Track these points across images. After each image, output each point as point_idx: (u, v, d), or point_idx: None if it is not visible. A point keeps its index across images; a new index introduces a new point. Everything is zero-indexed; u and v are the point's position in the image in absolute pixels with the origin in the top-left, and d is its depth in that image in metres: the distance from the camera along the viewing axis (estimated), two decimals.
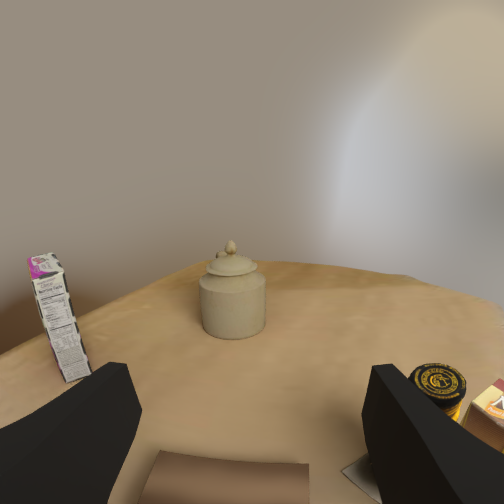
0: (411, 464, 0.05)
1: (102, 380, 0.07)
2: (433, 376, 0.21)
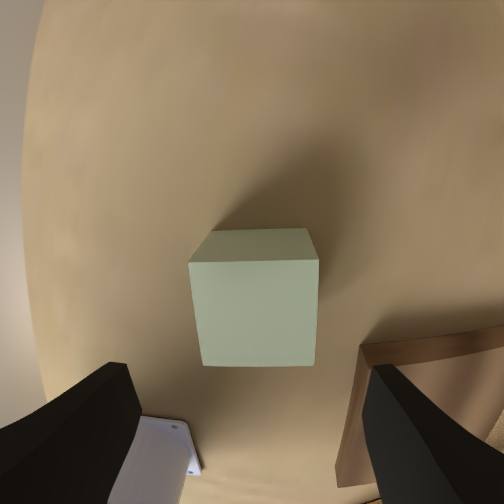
0: (411, 464, 0.05)
1: (102, 380, 0.07)
2: None
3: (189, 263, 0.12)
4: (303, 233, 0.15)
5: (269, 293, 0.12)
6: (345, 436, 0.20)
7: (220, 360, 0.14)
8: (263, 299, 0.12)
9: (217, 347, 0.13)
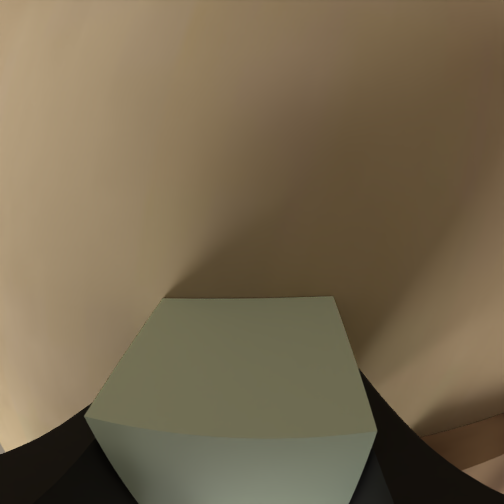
0: (364, 473, 0.05)
1: None
2: None
3: (87, 419, 0.05)
4: (330, 317, 0.08)
5: (259, 478, 0.05)
6: None
7: None
8: (247, 485, 0.05)
9: None
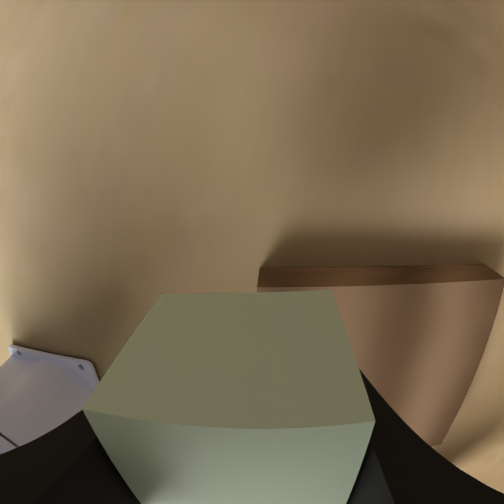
0: (365, 473, 0.05)
1: None
2: None
3: (85, 411, 0.05)
4: (328, 310, 0.08)
5: (257, 471, 0.05)
6: None
7: None
8: (246, 477, 0.05)
9: None
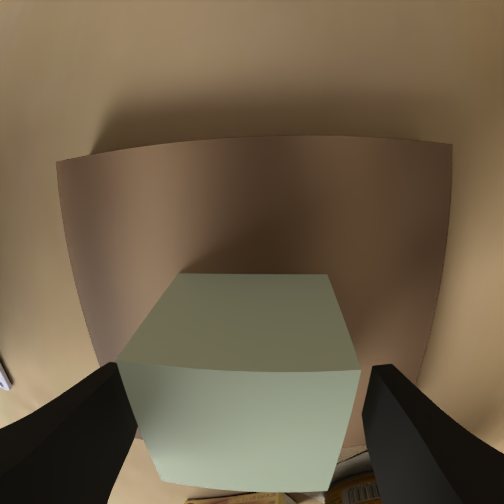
0: (411, 464, 0.05)
1: (102, 380, 0.07)
2: None
3: (118, 361, 0.06)
4: (324, 289, 0.09)
5: (262, 417, 0.06)
6: None
7: (186, 480, 0.07)
8: (252, 425, 0.06)
9: (180, 468, 0.07)
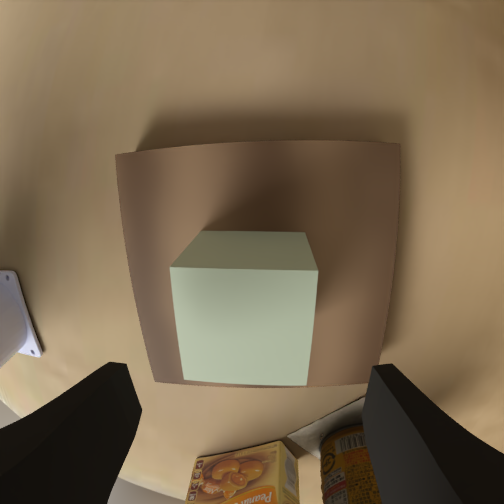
0: (411, 464, 0.05)
1: (102, 380, 0.07)
2: None
3: (171, 268, 0.11)
4: (301, 238, 0.14)
5: (259, 305, 0.11)
6: None
7: (203, 375, 0.12)
8: (253, 313, 0.11)
9: (200, 361, 0.12)
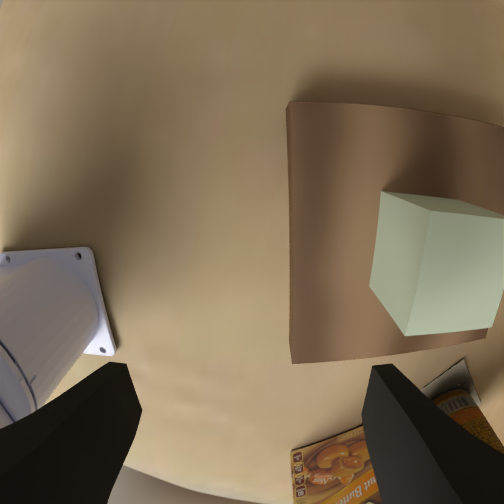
0: (411, 464, 0.05)
1: (102, 380, 0.07)
2: None
3: (431, 211, 0.10)
4: (468, 203, 0.13)
5: (484, 250, 0.10)
6: (290, 261, 0.17)
7: (424, 327, 0.11)
8: (479, 257, 0.10)
9: (427, 311, 0.11)
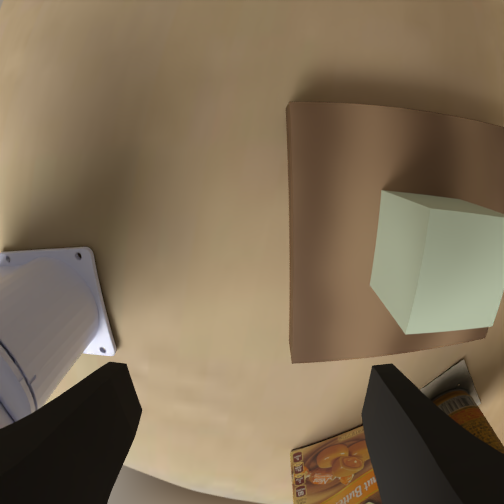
0: (411, 464, 0.05)
1: (102, 380, 0.07)
2: None
3: (432, 209, 0.10)
4: (468, 202, 0.13)
5: (485, 248, 0.10)
6: (290, 261, 0.18)
7: (424, 326, 0.11)
8: (479, 255, 0.10)
9: (428, 310, 0.11)
